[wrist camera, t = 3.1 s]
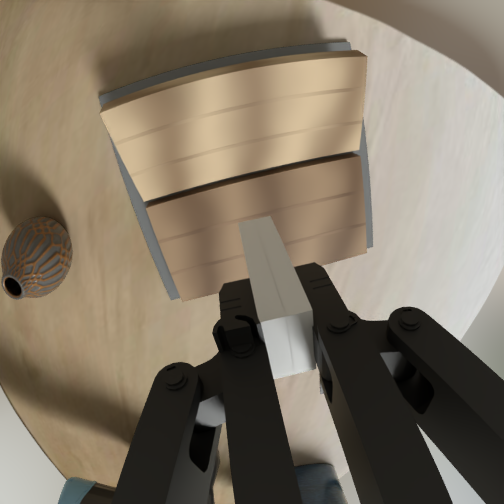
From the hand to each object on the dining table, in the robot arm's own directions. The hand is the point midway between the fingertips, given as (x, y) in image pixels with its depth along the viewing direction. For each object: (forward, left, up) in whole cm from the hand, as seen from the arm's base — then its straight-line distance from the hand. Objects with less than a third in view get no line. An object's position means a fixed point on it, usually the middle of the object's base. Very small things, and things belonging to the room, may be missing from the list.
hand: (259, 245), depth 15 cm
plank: (+2, +5, -11) cm, 13 cm away
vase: (-19, -1, -14) cm, 24 cm away
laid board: (+2, -5, -13) cm, 14 cm away
